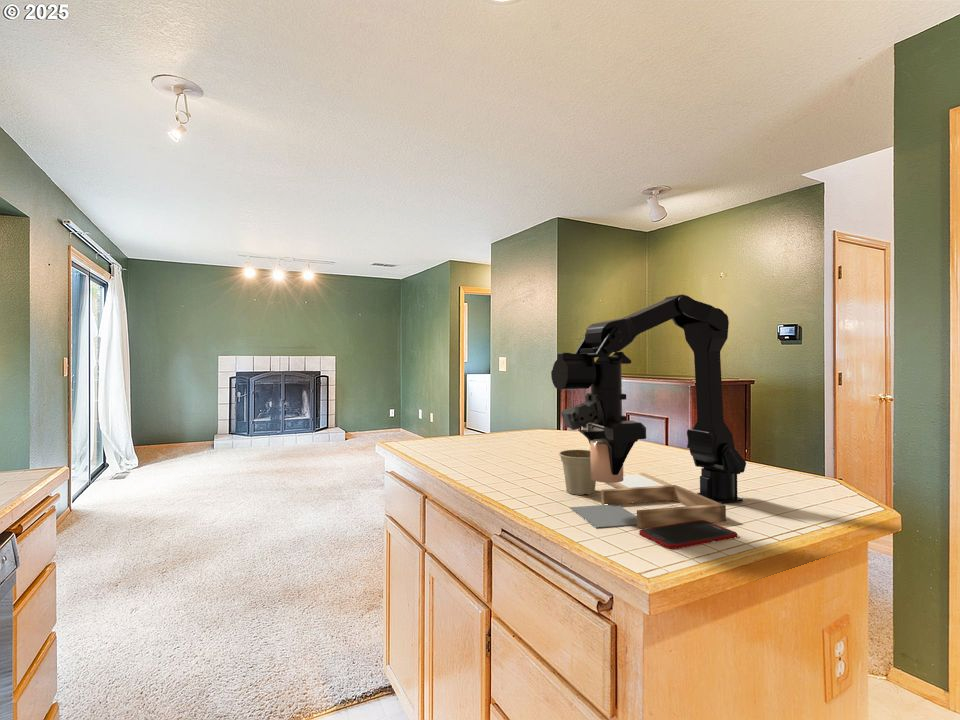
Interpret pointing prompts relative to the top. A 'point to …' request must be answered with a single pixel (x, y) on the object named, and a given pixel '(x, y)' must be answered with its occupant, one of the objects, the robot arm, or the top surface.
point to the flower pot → (577, 471)
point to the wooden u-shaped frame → (693, 510)
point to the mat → (606, 515)
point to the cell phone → (687, 534)
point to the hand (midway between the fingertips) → (607, 470)
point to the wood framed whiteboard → (638, 481)
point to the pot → (602, 463)
